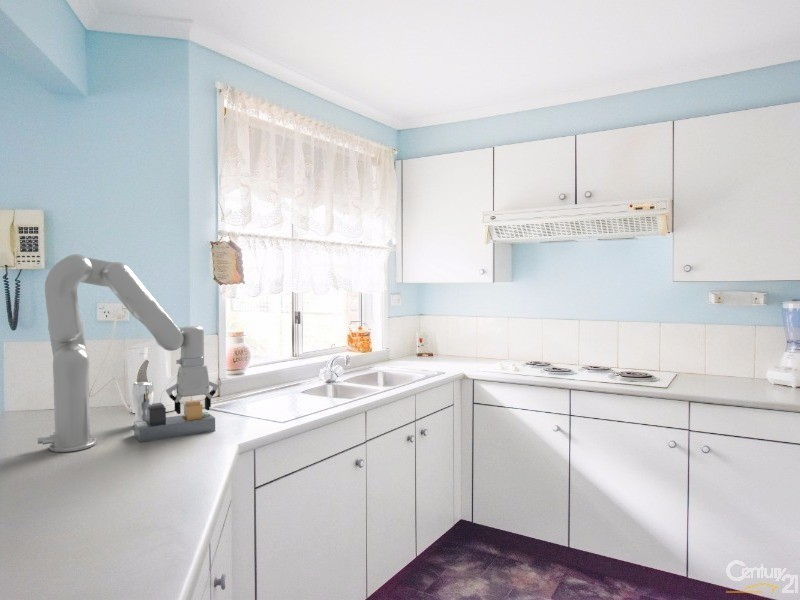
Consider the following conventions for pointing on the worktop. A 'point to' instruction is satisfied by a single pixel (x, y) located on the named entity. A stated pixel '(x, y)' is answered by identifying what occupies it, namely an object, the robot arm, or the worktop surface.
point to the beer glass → (142, 399)
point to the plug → (192, 410)
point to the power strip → (170, 424)
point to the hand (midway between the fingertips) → (192, 411)
